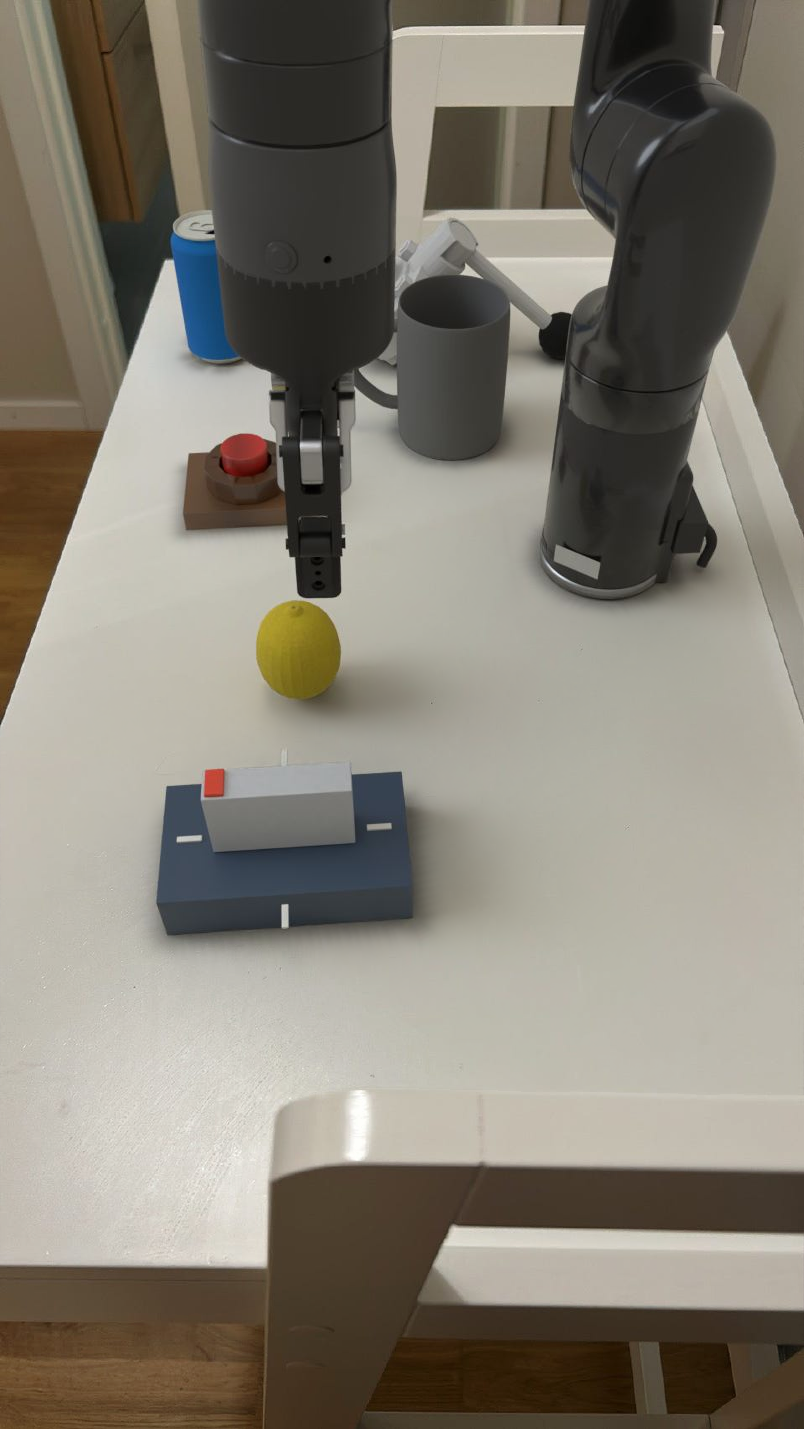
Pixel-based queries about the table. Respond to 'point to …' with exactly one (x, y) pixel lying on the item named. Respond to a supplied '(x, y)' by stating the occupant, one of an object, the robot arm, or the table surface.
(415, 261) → the valve
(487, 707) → the table surface
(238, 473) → the button
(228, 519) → the button block
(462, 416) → the mug
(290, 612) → the lemon
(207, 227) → the beverage can
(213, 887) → the blue dial base
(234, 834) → the white slab
